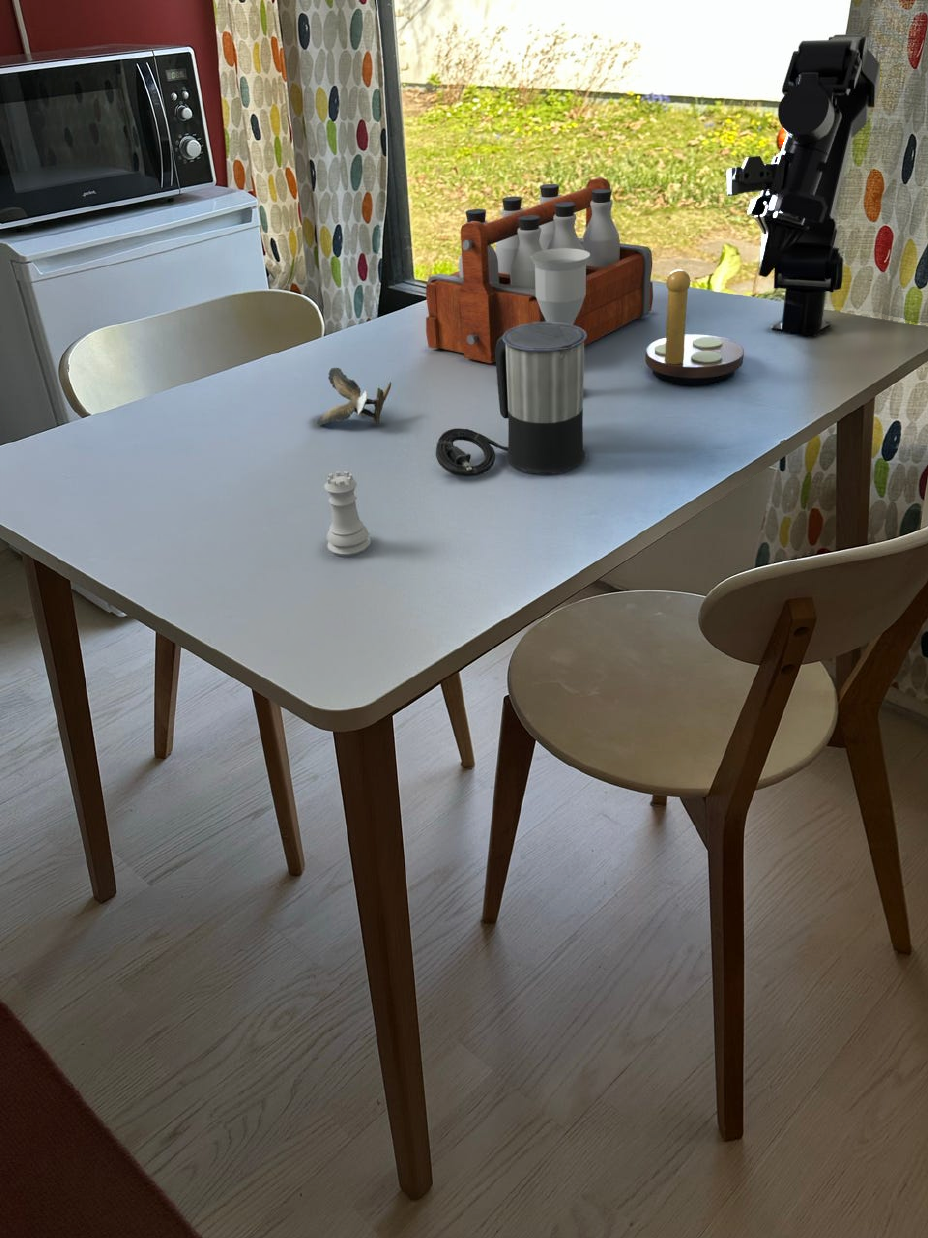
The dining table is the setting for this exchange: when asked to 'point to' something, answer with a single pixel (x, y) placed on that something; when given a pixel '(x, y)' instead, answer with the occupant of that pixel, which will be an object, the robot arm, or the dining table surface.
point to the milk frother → (531, 403)
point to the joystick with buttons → (690, 342)
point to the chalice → (560, 283)
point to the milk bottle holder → (505, 278)
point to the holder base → (692, 379)
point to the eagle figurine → (352, 399)
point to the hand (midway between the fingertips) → (762, 276)
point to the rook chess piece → (345, 517)
